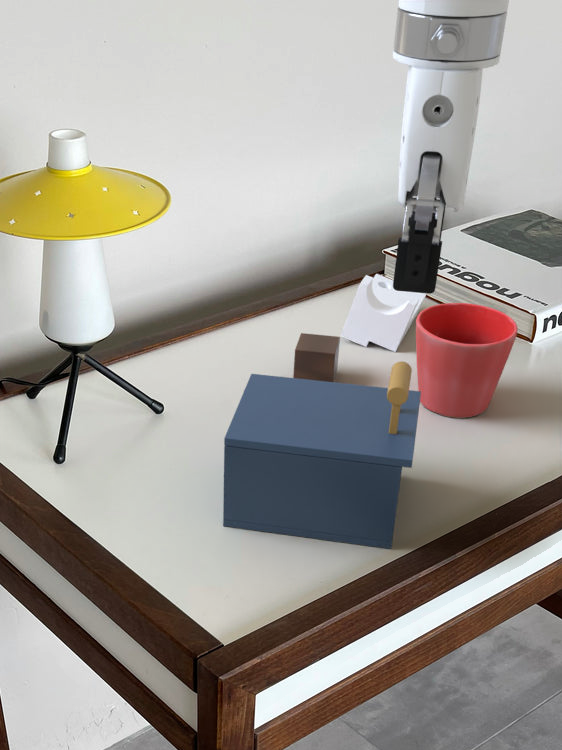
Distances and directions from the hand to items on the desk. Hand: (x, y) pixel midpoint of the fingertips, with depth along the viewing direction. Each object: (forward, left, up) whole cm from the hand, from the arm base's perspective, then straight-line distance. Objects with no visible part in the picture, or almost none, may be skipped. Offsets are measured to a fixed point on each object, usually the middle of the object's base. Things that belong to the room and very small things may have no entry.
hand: (417, 267), depth 82 cm
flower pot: (-6, -24, -25) cm, 35 cm away
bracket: (+3, -42, -25) cm, 49 cm away
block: (+10, -26, -25) cm, 37 cm away
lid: (+6, -1, -16) cm, 17 cm away
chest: (+7, -1, -25) cm, 26 cm away
